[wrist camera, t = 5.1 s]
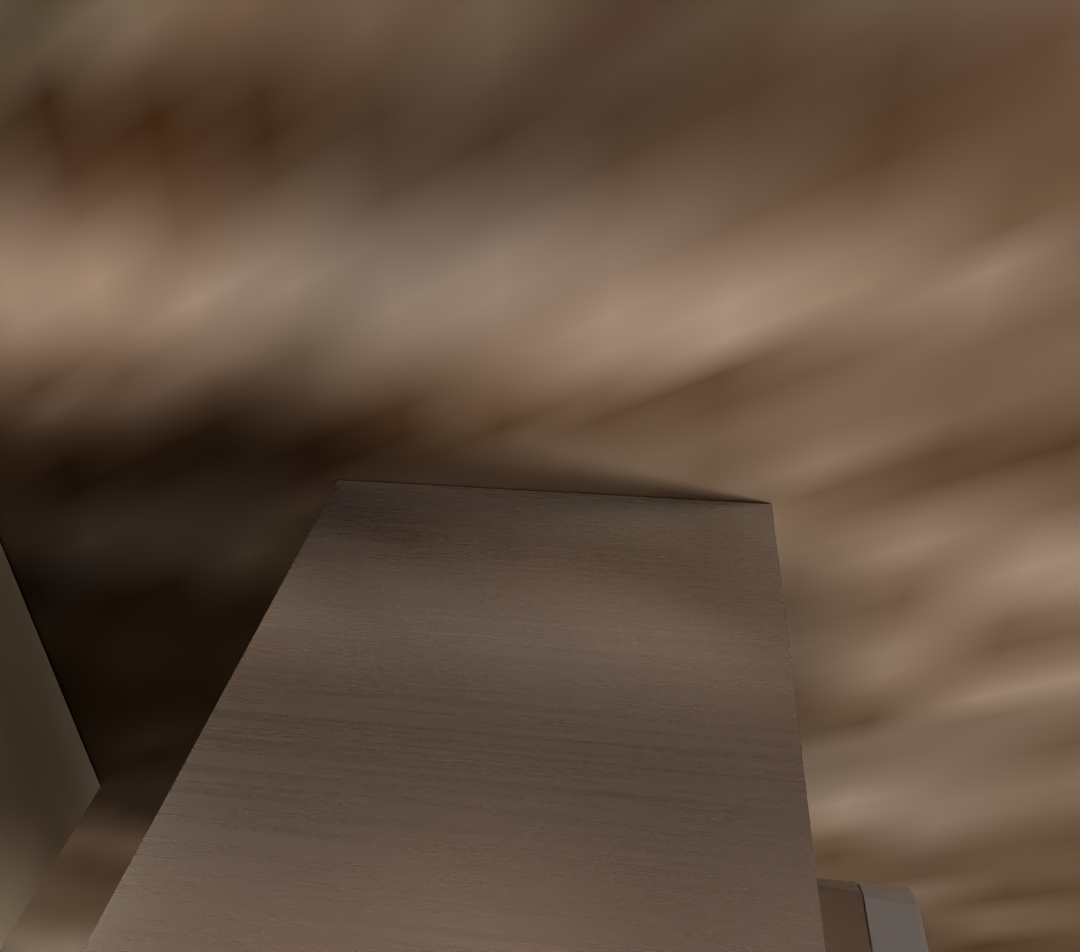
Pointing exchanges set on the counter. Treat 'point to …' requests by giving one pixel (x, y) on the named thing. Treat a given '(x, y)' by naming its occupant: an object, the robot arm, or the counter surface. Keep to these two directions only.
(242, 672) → the block
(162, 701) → the counter surface
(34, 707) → the stand
